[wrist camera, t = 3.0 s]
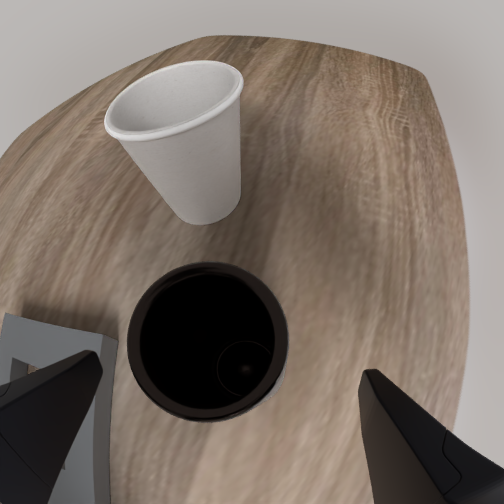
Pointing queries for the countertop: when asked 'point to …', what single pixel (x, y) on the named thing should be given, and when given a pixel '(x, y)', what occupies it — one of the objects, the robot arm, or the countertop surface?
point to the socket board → (98, 417)
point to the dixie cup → (185, 136)
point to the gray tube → (208, 342)
